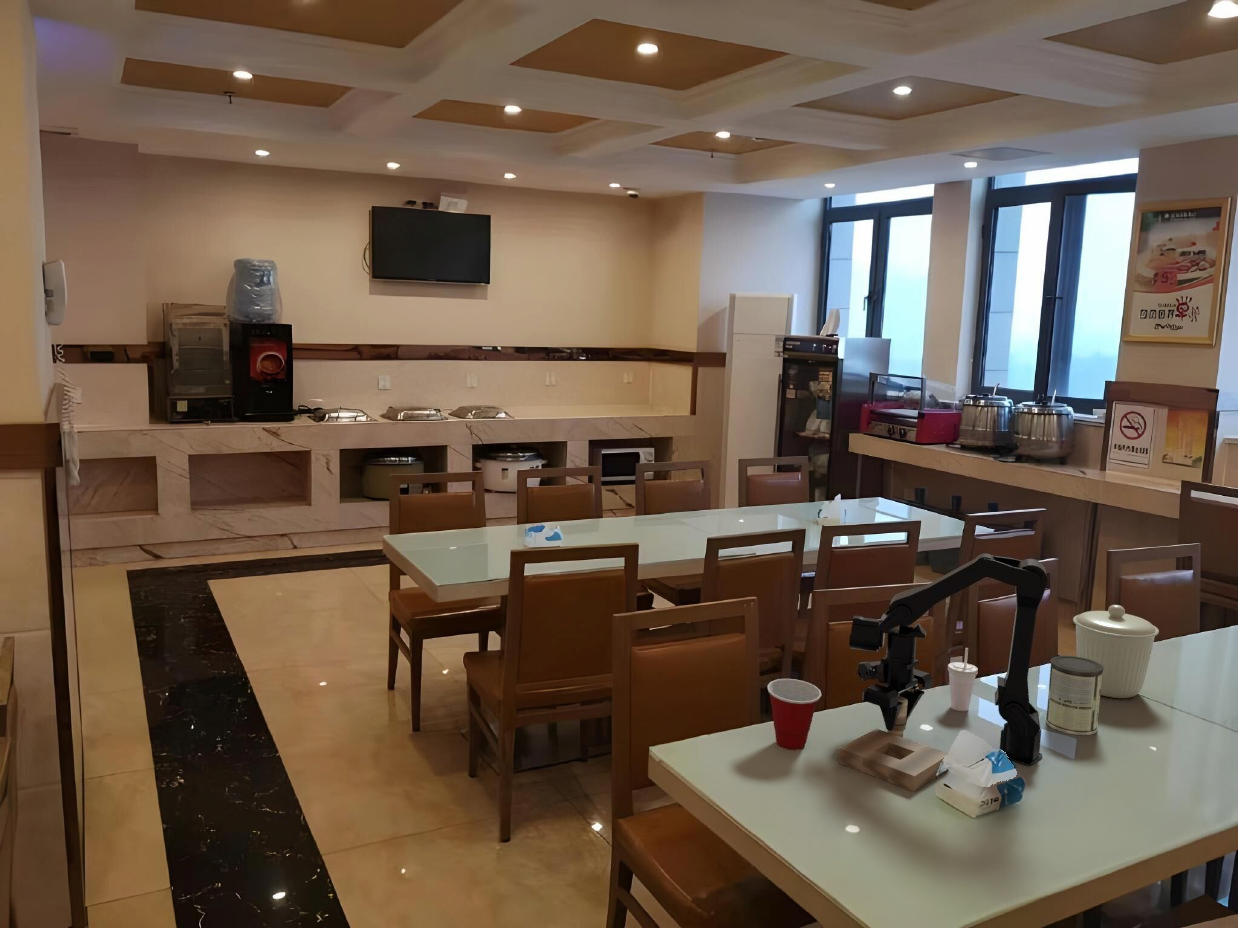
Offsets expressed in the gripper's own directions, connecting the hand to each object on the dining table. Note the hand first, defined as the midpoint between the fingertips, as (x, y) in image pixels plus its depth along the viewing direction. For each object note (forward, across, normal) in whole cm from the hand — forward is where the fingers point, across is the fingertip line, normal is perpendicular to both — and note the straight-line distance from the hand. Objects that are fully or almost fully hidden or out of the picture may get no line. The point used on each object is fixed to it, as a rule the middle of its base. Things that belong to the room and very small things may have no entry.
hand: (895, 726), depth 200 cm
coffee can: (+2, -34, +23) cm, 41 cm away
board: (+2, +13, +7) cm, 15 cm away
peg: (+2, 0, 0) cm, 2 cm away
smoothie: (+2, -25, +2) cm, 25 cm away
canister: (+2, -63, +21) cm, 66 cm away
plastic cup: (+2, +20, -12) cm, 23 cm away
